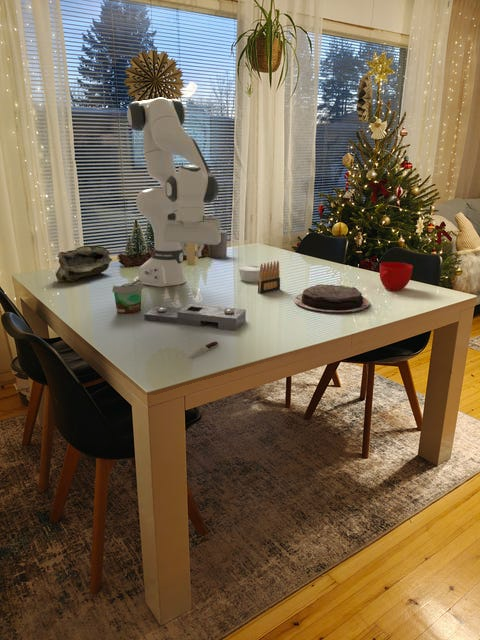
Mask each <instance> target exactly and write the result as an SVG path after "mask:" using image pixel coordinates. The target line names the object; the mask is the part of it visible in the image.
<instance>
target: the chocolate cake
mask: <svg viewBox="0 0 480 640" xmlns="http://www.w3.org/2000/svg"><path fill="white" fill-rule="evenodd" d="M362 295H363V293H362V292H361V291H360V290H359V289H357V288H356V287H355V286H353V287H351V286H346V285H342V284H341V285H335V284H332V283H331V284H316V285H313V286H309V287H307V288H306V289H303V292H302V293H299V294H296V295H295V296H294V297H293V301H294V303H295V304H296V305H297V306H299V307H302V308H304V309H306V311H313V312H314V311H315V312H321V313H322V312H323V313H324V314H334V315H335V314H336V315H337V314H339V315H340V314H341V315H342V314H343V315H344V314H352V313H354V312H359V313H360V312H362V311H363V310H365V309H366V310H367V309H368V307H369V306H370V303H371V302H370V301H369V300H368V299H367V298H365V297H364V296H362Z"/></svg>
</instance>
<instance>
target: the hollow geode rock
mask: <svg viewBox="0 0 480 640" xmlns="http://www.w3.org/2000/svg"><path fill="white" fill-rule="evenodd" d="M110 254H111V253H110V251H109V250H107V249H106V247H104V246H97V245H94V246H92V245H84V246H83V245H82V246H80V247H77V248H76V249H71V250H68V251H66V252H65V251H61V252H58V255H57V256H56V257H57V258H59V259H58V264H59V268H58V270H57V271H56V272H55V277H56V280H57V281H58V282H62V283H67V282H71V283H75V282H77V280H78V279H80V278H81V277H83V278H85V277H86V278H87V277H90V276H94V275H100V274H102V273H104V272H106V271H107V270H108V269H109V266H110V263H111V262H112V261H113V258H111V257H110V256H109V255H110Z"/></svg>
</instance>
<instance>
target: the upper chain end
mask: <svg viewBox="0 0 480 640" xmlns="http://www.w3.org/2000/svg"><path fill="white" fill-rule="evenodd" d="M181 308H182V309H181V310H180V311H178V312H177V318H182V319H191V320H200V321H207V322H211V323H217V324H218V325H217V327H218V330H219V329H220V330H228V331H236V332H237V331H238V330H239V329H240V327H241V326H242V325H244V324H245V322H247V321H246V317H247V316H246V315H247V313H246V312H247V311H246V309H244V308H233V307H225V306H215V305H206V304H197V303H196V304H195V303H188V304H187V305H186V306H184V307H181Z"/></svg>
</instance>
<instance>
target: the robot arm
mask: <svg viewBox="0 0 480 640" xmlns="http://www.w3.org/2000/svg"><path fill="white" fill-rule="evenodd" d="M185 117H186V111H185V107H184V104H183V102H181V100H179V99H175V98H170V99H169V98H168V99H167V98H165V97H156V98H154V99H147V100H141V101H138V100H137V101H132V102H130V104H129V105H128V107H127V111H126V118H127V121H128V124H129V126H130V128H131V129H132V130H134V131H137V132H142V131H143V137H142V139H143V140H142V141H143V152H144V158H145V163H146V170H147V174H148V175H149V177H150V178H152V179H153V180H155V181H156V182H157V183H159V184H160V186H161V187H157V188H155V187H154V188H152V187H151V188H148V189H144V190H141V191H139V192H138V195H137V196H136V198H135V199H136V200H135V203H136V208H137V211H138V212H139V213H140V214H141V215H142V216H144V218H146V219H147V220H148V222H149V223H150V225H151V228H152V231H153V239H154V240H153V241H154V248H153V249H151V250H150V251H149V255H151V257H150V258H149V259H148V260H147V261H145V262H144V263H143V264H142V265H140V266H139V269H138V273H137V276H136V277H134V278H133V279H132V280H133V281H132V283H134V282H136V279H138V280H141V282H142V284H143V285H147V286H151V287H152V286H153V287H158V288H160V287H161V288H164V287H169V286H171V287H172V286H177V285H182V284H184V283H186V282H187V278H186V276H185V272H184V265H183V262H184V259H183V258H184V256H186V257H187V253H186V243H196V244H198V251H195V256H197V257H198V258H200V257H201V256H202V250H203V249H204V247H205V245H209V244H210V245H217V244H219V243H220V242H221V233H220V230H221V224H222V223H221V220H220V218H218V217H217V216H209V215H205V208H206V207H205V204H211V203H212V202H213V201H214V200H216V198H217V197H218V195H219V193H220V192H219V191H220V190H219V183H218V181H217V178H216V177H215V175H214V174H213V173H212V172H211V170H210V168H209V165H208V163H207V161H206V160H205V158H204V155H203V153H202V151H201V149H200V147H199V145H198V143H197V142H196V140H195V139H194V138H193V137H191V136H190V135H189V134H188V133H187V132H186V131H185V129H184V128H183V127H182V125H183V124H184V123H185ZM174 155H176V156H179V157H181V158H183V159H185V160H187V161H188V162H189V164H182V165H180V166H179V167H178V171H177V169H176V165H175V161H174V160H175V159H174Z"/></svg>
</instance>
